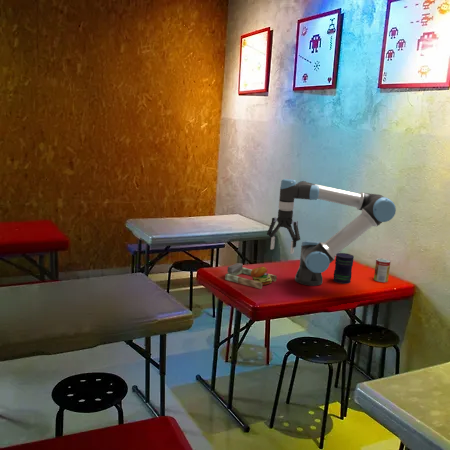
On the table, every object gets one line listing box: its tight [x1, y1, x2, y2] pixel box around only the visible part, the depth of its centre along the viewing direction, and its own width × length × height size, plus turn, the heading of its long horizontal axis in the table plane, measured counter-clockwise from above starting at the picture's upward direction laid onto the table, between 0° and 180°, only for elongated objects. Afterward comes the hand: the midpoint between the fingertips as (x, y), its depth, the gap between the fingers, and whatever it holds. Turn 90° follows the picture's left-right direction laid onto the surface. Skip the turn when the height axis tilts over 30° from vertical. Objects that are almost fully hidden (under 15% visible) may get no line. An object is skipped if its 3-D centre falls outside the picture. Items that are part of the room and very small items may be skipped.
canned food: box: [373, 257, 391, 283], centre depth 286 cm, size 8×8×12 cm
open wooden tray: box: [224, 262, 277, 290], centre depth 271 cm, size 23×18×6 cm
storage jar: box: [332, 252, 355, 285], centre depth 279 cm, size 10×10×15 cm
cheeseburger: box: [250, 266, 273, 286], centre depth 267 cm, size 10×11×10 cm
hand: (281, 251), depth 258 cm, fingers open, 11 cm apart
